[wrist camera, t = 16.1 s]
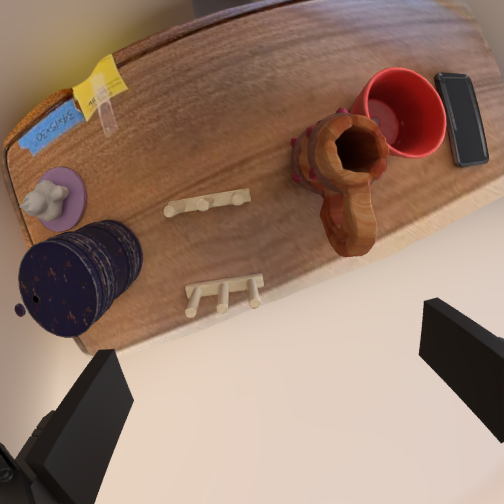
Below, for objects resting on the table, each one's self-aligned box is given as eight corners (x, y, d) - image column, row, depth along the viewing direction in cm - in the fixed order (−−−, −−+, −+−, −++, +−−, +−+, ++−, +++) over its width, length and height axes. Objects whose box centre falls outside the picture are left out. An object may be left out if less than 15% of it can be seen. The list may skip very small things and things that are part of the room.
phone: (469, 74, 34) (490, 163, 38) (465, 76, 35) (485, 163, 39) (436, 72, 34) (458, 167, 38) (432, 74, 35) (454, 167, 39)
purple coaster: (33, 176, 36) (29, 176, 35) (82, 159, 36) (78, 159, 35) (43, 235, 38) (40, 237, 37) (92, 224, 38) (89, 225, 37)
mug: (284, 124, 37) (312, 93, 22) (345, 125, 37) (400, 100, 22) (290, 239, 40) (320, 271, 25) (349, 235, 40) (405, 264, 26)
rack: (170, 201, 38) (153, 206, 30) (248, 187, 38) (252, 189, 30) (188, 295, 41) (178, 321, 33) (263, 284, 41) (269, 308, 33)
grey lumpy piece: (35, 190, 36) (1, 194, 28) (69, 170, 35) (36, 169, 28) (47, 225, 37) (14, 235, 29) (81, 207, 37) (50, 213, 29)
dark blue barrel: (128, 207, 38) (55, 229, 21) (154, 277, 40) (105, 341, 23) (69, 234, 38) (-14, 267, 21) (96, 297, 40) (30, 360, 23)
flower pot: (337, 80, 36) (364, 55, 26) (407, 97, 36) (445, 82, 27) (333, 155, 38) (362, 148, 28) (405, 168, 39) (445, 167, 29)
